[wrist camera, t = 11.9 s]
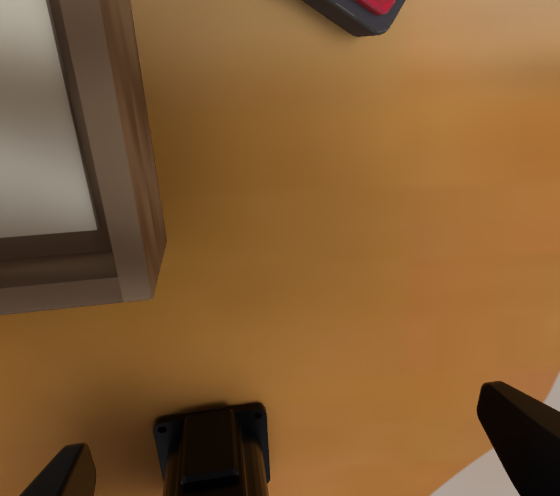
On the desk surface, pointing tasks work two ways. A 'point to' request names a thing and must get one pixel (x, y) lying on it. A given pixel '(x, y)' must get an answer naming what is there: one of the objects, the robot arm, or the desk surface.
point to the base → (74, 159)
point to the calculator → (359, 14)
